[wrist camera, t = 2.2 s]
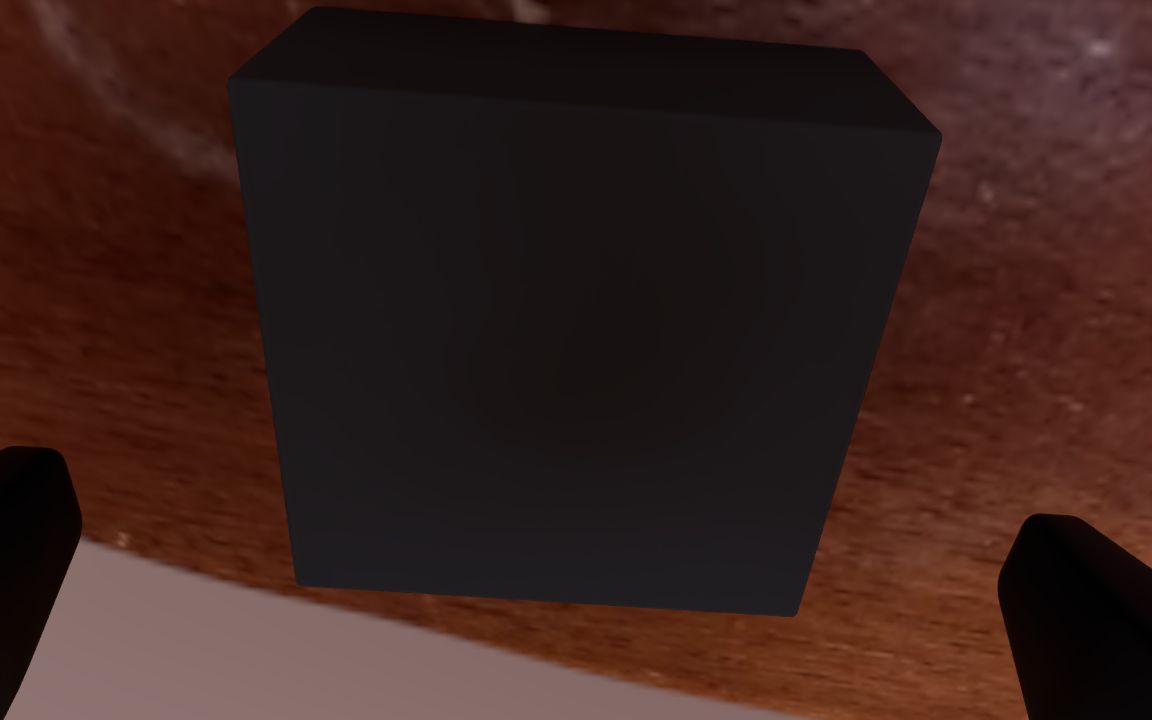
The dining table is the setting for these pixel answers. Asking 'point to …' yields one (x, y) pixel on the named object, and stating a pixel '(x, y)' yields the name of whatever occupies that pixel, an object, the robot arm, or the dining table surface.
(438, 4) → the dining table surface
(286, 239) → the small pad
